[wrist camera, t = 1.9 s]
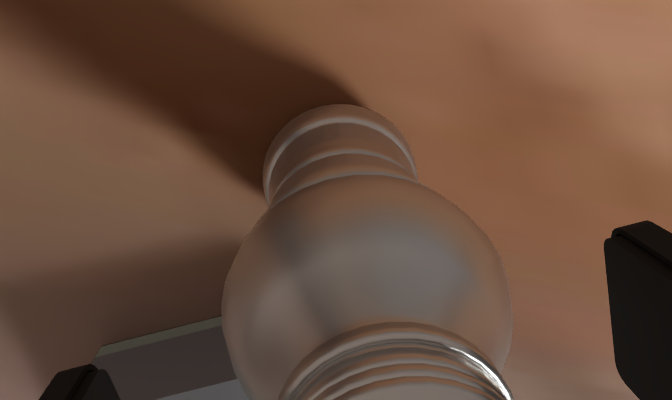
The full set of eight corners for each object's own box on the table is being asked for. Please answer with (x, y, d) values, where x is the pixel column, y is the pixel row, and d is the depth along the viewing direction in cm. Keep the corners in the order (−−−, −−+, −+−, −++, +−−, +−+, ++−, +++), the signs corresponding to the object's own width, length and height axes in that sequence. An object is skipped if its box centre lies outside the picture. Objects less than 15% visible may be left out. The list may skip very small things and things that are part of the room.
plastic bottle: (394, 233, 28) (593, 684, 9) (259, 220, 27) (155, 672, 8) (416, 105, 26) (728, 321, 7) (271, 88, 25) (172, 271, 6)
